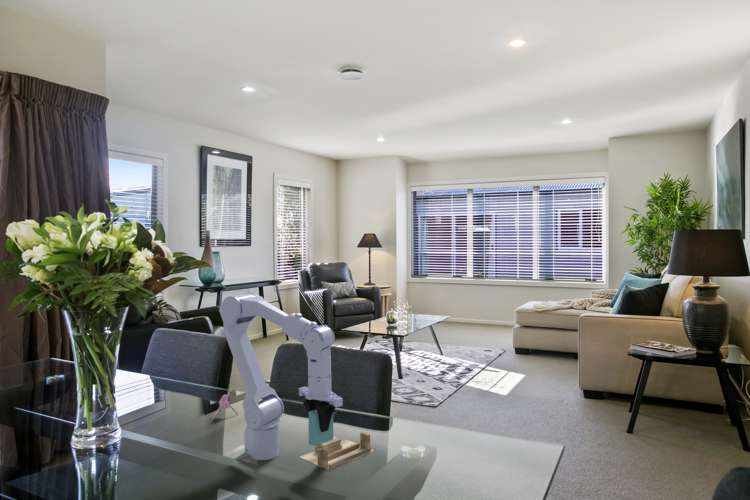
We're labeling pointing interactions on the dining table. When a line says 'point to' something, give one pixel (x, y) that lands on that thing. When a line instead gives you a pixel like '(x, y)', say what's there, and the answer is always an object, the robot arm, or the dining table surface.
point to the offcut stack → (330, 445)
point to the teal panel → (318, 430)
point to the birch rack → (340, 453)
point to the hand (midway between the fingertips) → (320, 429)
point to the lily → (224, 403)
